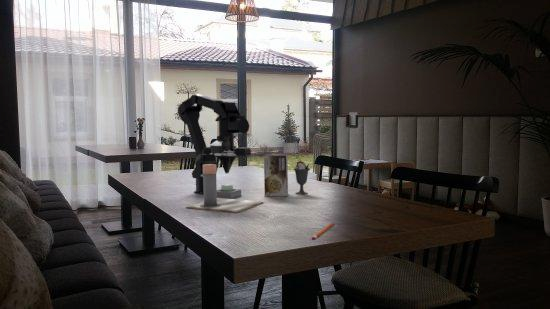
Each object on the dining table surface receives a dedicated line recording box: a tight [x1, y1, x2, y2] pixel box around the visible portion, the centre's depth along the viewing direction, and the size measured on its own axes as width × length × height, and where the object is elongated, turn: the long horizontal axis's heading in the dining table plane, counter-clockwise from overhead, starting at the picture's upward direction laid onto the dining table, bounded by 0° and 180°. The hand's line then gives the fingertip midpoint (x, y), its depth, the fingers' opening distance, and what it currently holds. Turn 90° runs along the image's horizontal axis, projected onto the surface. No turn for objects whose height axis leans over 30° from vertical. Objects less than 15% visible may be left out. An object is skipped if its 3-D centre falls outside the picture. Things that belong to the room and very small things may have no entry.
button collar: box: [217, 188, 242, 199], centre depth 175 cm, size 8×8×2 cm
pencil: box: [311, 222, 335, 240], centre depth 121 cm, size 1×19×1 cm, turn 156°
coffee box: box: [263, 153, 289, 197], centre depth 178 cm, size 9×6×16 cm
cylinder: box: [203, 164, 218, 207], centre depth 153 cm, size 5×5×14 cm
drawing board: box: [185, 198, 264, 214], centre depth 157 cm, size 20×19×1 cm
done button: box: [221, 183, 234, 192], centre depth 175 cm, size 4×4×2 cm
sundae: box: [293, 156, 311, 196], centre depth 181 cm, size 7×7×15 cm
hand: (226, 173), depth 175 cm, fingers closed
